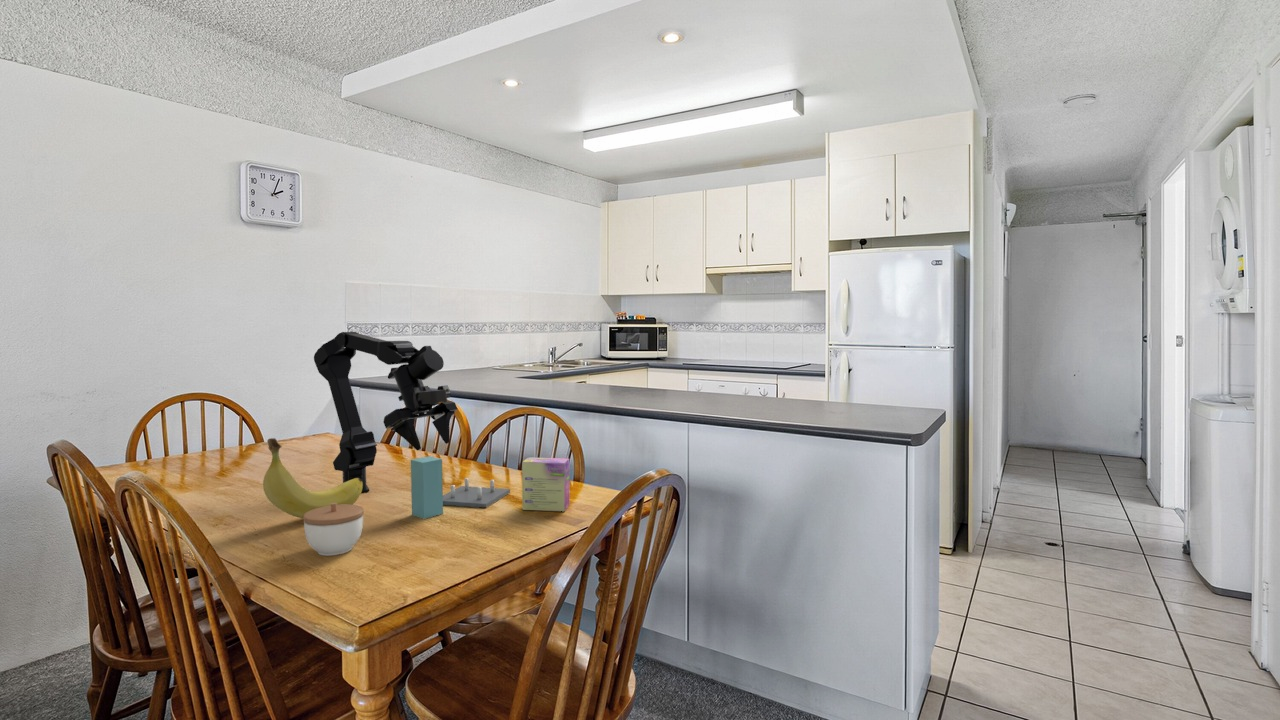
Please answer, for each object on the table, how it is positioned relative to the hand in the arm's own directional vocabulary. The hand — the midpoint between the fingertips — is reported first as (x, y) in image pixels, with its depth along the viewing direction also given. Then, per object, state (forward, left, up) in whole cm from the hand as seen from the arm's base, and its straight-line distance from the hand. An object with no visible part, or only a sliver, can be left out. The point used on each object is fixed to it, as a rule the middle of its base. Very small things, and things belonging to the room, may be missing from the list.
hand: (433, 446), depth 158 cm
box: (+15, +23, -15) cm, 31 cm away
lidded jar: (+21, -24, -15) cm, 35 cm away
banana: (-3, -25, -15) cm, 30 cm away
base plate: (-2, +10, -15) cm, 18 cm away
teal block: (+6, -3, -15) cm, 16 cm away
